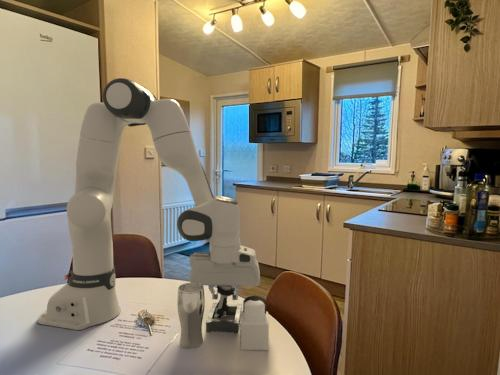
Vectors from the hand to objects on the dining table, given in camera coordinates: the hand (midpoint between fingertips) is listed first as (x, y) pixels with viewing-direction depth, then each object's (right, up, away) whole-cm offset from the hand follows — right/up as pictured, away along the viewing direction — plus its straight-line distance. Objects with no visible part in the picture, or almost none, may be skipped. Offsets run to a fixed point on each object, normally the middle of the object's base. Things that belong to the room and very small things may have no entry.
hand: (225, 299), depth 98 cm
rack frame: (0, -7, +1) cm, 7 cm away
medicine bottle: (+8, -8, -10) cm, 16 cm away
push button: (-2, -6, +1) cm, 6 cm away
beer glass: (-8, -8, -10) cm, 15 cm away
